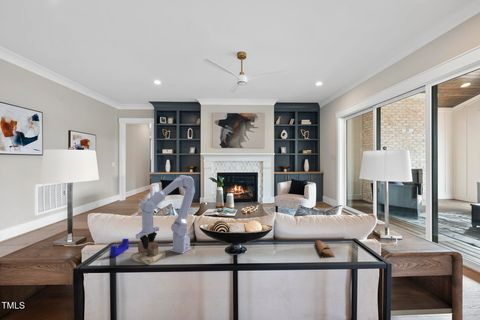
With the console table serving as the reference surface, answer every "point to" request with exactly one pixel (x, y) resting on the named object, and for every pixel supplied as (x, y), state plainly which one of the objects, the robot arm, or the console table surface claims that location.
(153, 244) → the walnut bar
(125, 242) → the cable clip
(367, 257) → the console table surface
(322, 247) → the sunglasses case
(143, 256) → the cutout board
